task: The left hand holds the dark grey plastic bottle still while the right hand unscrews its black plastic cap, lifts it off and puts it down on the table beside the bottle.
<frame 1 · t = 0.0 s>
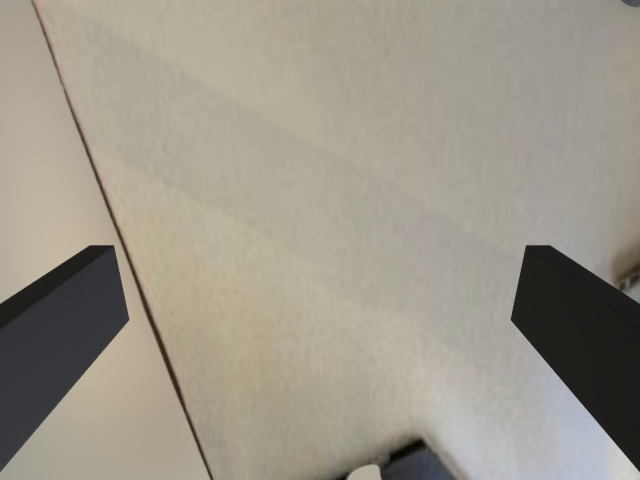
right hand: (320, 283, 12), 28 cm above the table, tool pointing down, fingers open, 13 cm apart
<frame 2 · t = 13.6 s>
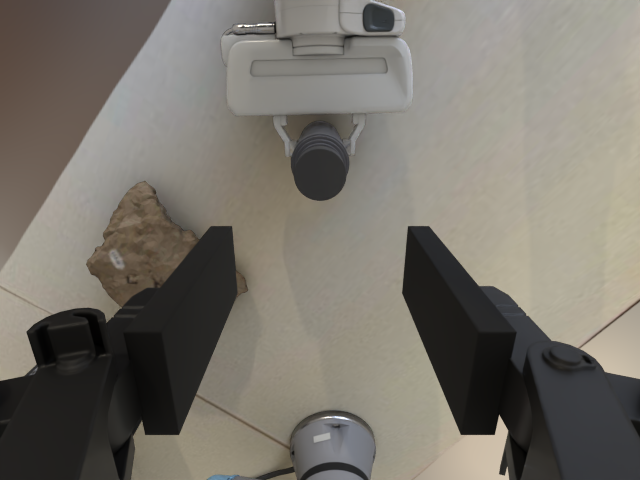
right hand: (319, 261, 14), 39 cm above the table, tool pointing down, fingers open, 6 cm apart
left hand: (320, 155, 45), fingers closed on bottle, 5 cm apart
cap: (320, 174, 29), point 22 cm above the table, screwed on, not yet turned
stone: (174, 259, 57), on the table
bottle: (319, 141, 50), on the table, touching left hand
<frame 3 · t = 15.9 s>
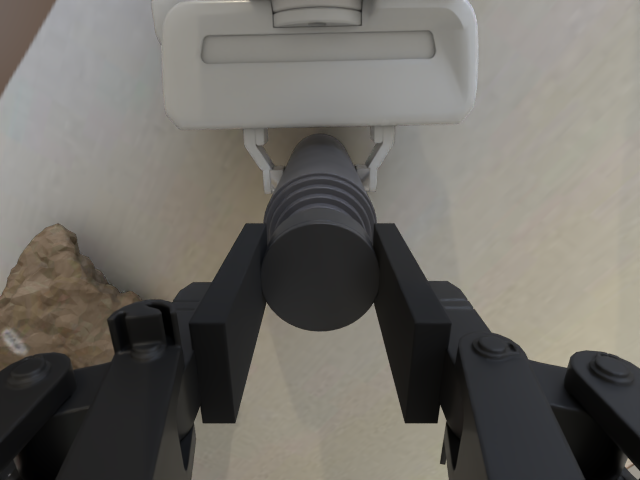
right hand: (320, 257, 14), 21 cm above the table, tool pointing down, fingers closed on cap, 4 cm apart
left hand: (320, 191, 28), fingers closed on bottle, 5 cm apart
cap: (320, 276, 13), point 22 cm above the table, screwed on, not yet turned, touching right hand
stone: (114, 327, 40), on the table
bottle: (320, 164, 34), on the table, touching left hand
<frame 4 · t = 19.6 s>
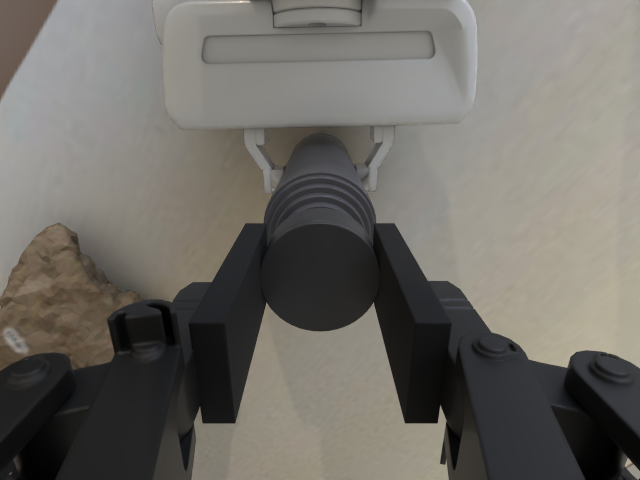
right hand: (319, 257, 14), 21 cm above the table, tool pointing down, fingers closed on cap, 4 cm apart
left hand: (320, 190, 28), fingers closed on bottle, 5 cm apart
cap: (320, 276, 13), point 23 cm above the table, turned 109° so far, risen 0.1 cm, still on its thread, touching right hand
stone: (115, 326, 40), on the table
bottle: (320, 163, 34), on the table, touching left hand
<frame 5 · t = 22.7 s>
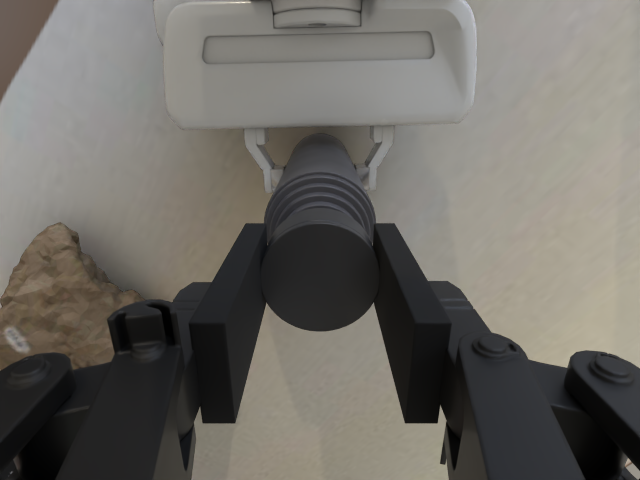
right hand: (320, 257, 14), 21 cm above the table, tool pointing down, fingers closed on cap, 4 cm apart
left hand: (320, 190, 28), fingers closed on bottle, 5 cm apart
cap: (320, 276, 13), point 23 cm above the table, turned 217° so far, risen 0.3 cm, still on its thread, touching right hand
stone: (115, 326, 40), on the table
bottle: (319, 163, 34), on the table, touching left hand
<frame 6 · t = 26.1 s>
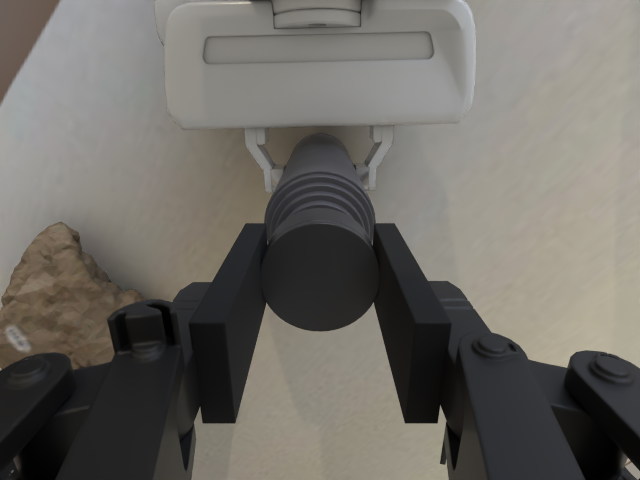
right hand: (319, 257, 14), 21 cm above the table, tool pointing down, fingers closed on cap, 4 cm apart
left hand: (320, 190, 29), fingers closed on bottle, 5 cm apart
cap: (319, 276, 13), point 23 cm above the table, turned 325° so far, risen 0.4 cm, still on its thread, touching right hand
stone: (116, 325, 40), on the table
bottle: (319, 163, 34), on the table, touching left hand
when the right hand's fingers open (2 cm above the table, at t = 35.4 s): cap drops 2 cm, point 1 cm above the table.
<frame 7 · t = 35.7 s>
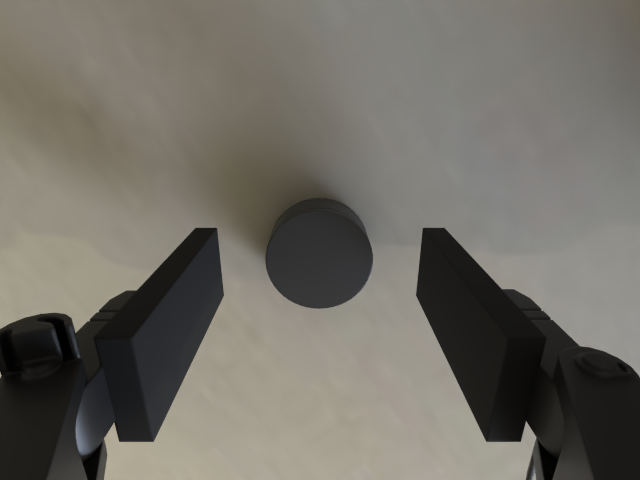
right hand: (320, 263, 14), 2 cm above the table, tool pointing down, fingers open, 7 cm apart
cap: (319, 258, 15), point 1 cm above the table, off its thread
when the left hand's fingers open (7 cm above the table, at t = 36.8 s): bottle stays where it is, on the table.
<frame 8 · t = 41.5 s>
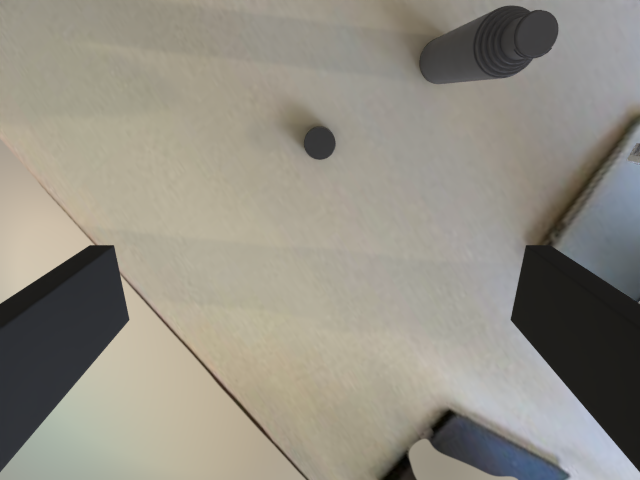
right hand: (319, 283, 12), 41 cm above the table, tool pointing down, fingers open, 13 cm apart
cap: (319, 143, 49), point 1 cm above the table, off its thread
bottle: (440, 61, 47), on the table
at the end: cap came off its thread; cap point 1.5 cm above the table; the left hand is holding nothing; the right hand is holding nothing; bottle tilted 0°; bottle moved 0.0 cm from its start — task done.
